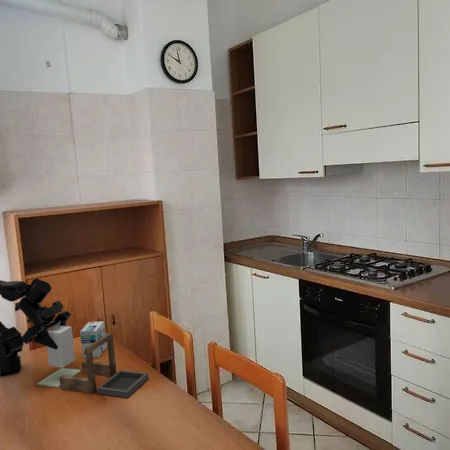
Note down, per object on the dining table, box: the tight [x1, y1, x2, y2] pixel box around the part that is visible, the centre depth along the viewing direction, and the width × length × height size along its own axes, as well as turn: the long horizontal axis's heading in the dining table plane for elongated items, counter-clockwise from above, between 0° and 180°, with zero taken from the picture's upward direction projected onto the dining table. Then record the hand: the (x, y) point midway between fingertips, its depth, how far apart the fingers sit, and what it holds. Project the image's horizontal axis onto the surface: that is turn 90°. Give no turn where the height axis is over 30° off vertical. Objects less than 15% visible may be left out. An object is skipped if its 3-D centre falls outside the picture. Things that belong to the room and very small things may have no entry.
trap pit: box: [96, 369, 150, 399], centre depth 147 cm, size 11×13×2 cm
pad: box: [37, 367, 82, 388], centre depth 157 cm, size 8×12×1 cm
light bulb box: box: [79, 321, 108, 359], centre depth 176 cm, size 11×7×11 cm, turn 179°
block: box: [46, 325, 76, 368], centre depth 154 cm, size 6×6×12 cm
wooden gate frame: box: [59, 332, 118, 394], centre depth 151 cm, size 13×13×15 cm
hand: (63, 344), depth 154 cm, fingers closed on block, 6 cm apart
